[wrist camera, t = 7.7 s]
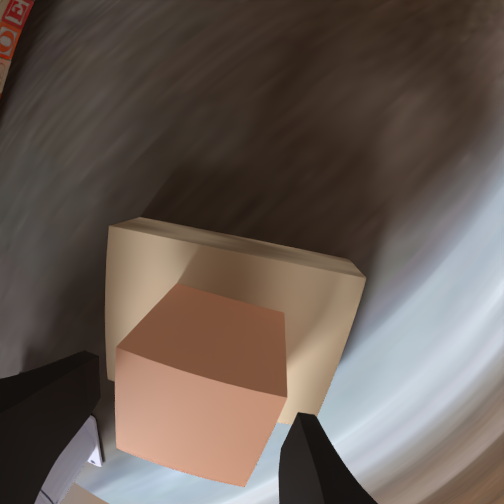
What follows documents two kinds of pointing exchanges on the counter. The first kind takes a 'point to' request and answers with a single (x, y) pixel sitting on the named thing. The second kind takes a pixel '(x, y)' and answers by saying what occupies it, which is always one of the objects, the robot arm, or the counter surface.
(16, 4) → the stack of blocks
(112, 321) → the birch block
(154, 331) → the terracotta block
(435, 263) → the counter surface
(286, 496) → the robot arm
